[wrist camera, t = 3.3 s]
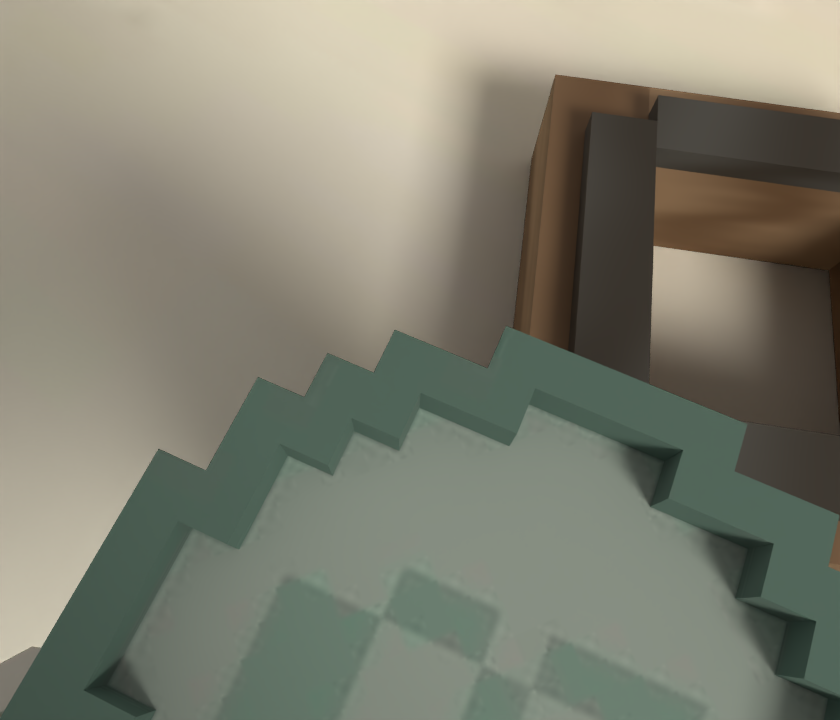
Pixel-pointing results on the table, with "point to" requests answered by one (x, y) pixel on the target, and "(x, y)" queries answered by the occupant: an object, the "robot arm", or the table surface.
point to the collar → (677, 231)
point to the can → (454, 560)
